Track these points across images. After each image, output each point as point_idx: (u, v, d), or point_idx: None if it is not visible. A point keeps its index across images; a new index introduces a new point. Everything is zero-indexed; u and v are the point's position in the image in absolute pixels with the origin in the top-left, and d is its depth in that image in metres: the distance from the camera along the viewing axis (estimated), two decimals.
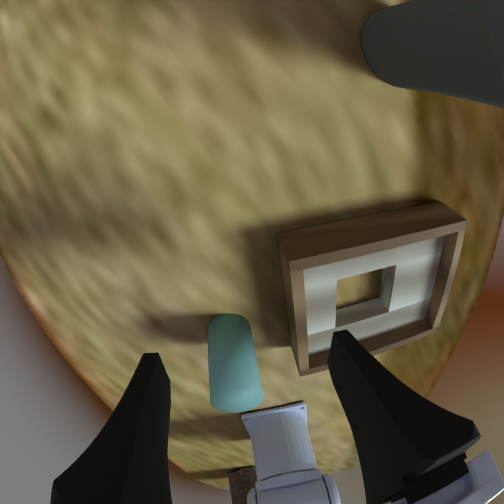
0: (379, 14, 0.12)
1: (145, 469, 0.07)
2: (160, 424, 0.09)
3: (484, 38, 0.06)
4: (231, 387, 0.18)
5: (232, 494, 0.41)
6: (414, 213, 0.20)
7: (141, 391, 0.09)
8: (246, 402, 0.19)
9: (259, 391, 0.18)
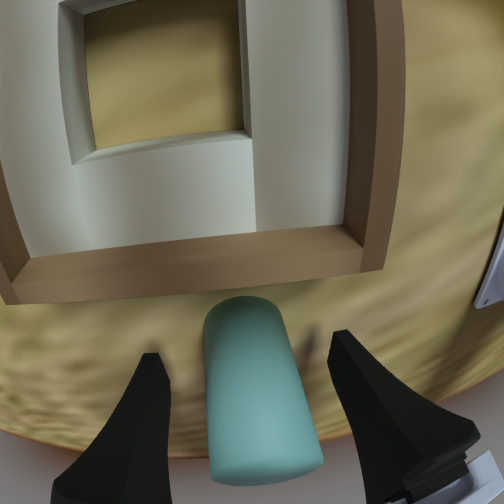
0: None
1: (145, 469, 0.07)
2: (160, 424, 0.09)
3: None
4: (211, 477, 0.07)
5: None
6: None
7: (141, 391, 0.09)
8: (284, 466, 0.07)
9: (245, 460, 0.07)
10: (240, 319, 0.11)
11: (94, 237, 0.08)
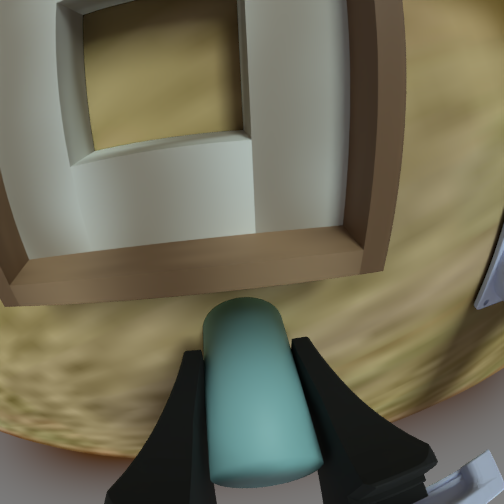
0: None
1: (200, 470, 0.07)
2: (205, 423, 0.10)
3: None
4: (211, 480, 0.07)
5: None
6: None
7: (190, 389, 0.09)
8: (284, 468, 0.07)
9: (244, 463, 0.07)
10: (239, 321, 0.11)
11: (93, 239, 0.08)
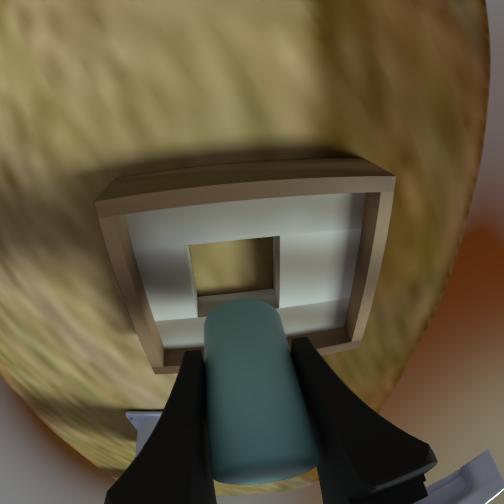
0: None
1: (200, 470, 0.07)
2: (205, 422, 0.10)
3: None
4: (211, 475, 0.07)
5: None
6: (311, 163, 0.15)
7: (190, 389, 0.09)
8: (284, 465, 0.07)
9: (251, 459, 0.07)
10: (244, 321, 0.12)
11: (141, 252, 0.15)
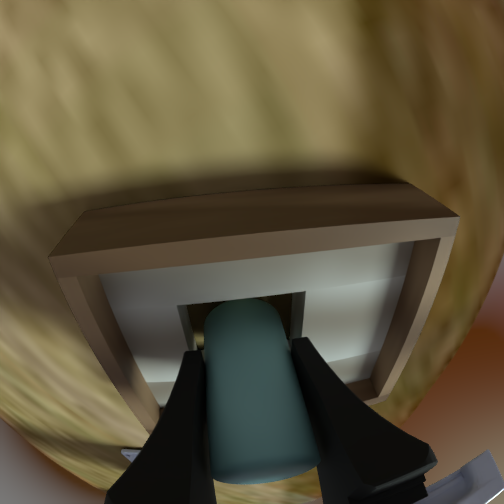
0: None
1: (200, 470, 0.07)
2: (205, 422, 0.10)
3: None
4: (211, 475, 0.07)
5: None
6: (351, 194, 0.11)
7: (190, 389, 0.09)
8: (284, 465, 0.07)
9: (250, 458, 0.07)
10: (244, 320, 0.12)
11: (122, 312, 0.11)
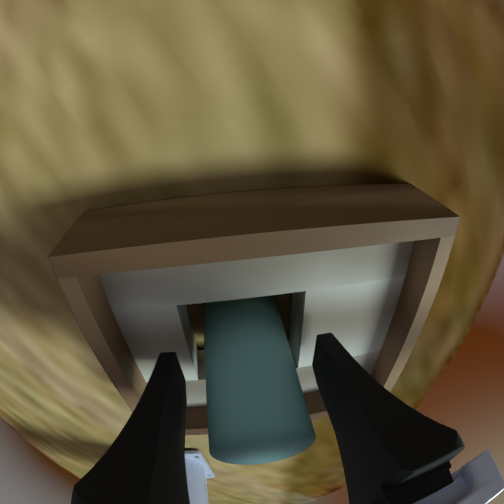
0: None
1: (167, 470, 0.07)
2: (178, 424, 0.09)
3: None
4: None
5: None
6: (350, 194, 0.11)
7: (161, 391, 0.09)
8: (280, 441, 0.08)
9: (247, 430, 0.08)
10: (242, 305, 0.12)
11: (122, 312, 0.11)
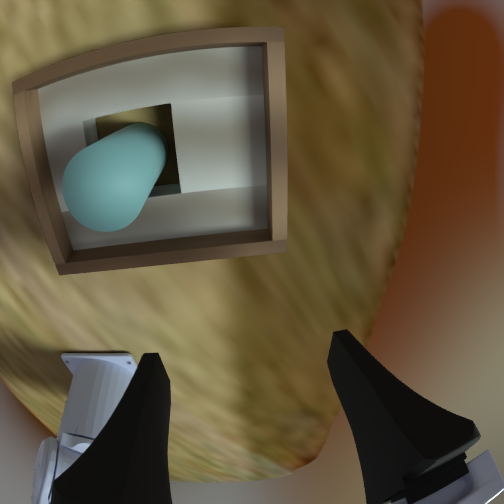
0: None
1: (145, 469, 0.07)
2: (160, 424, 0.09)
3: None
4: (63, 193, 0.10)
5: None
6: None
7: (141, 391, 0.09)
8: (111, 175, 0.10)
9: (83, 150, 0.09)
10: (130, 126, 0.14)
11: (49, 133, 0.13)
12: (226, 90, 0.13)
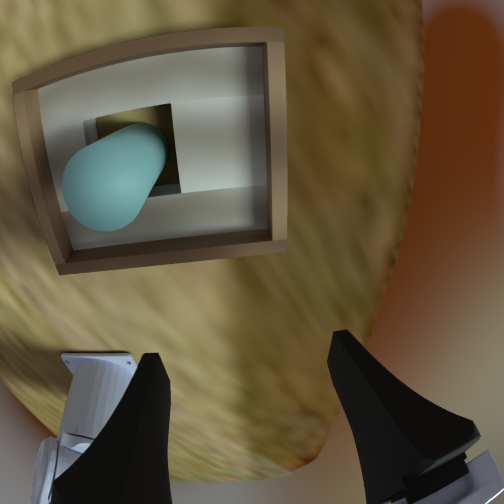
0: None
1: (145, 469, 0.07)
2: (160, 424, 0.09)
3: None
4: (62, 192, 0.10)
5: None
6: None
7: (141, 391, 0.09)
8: (111, 174, 0.10)
9: (83, 149, 0.09)
10: (130, 126, 0.14)
11: (49, 133, 0.13)
12: (226, 90, 0.13)
